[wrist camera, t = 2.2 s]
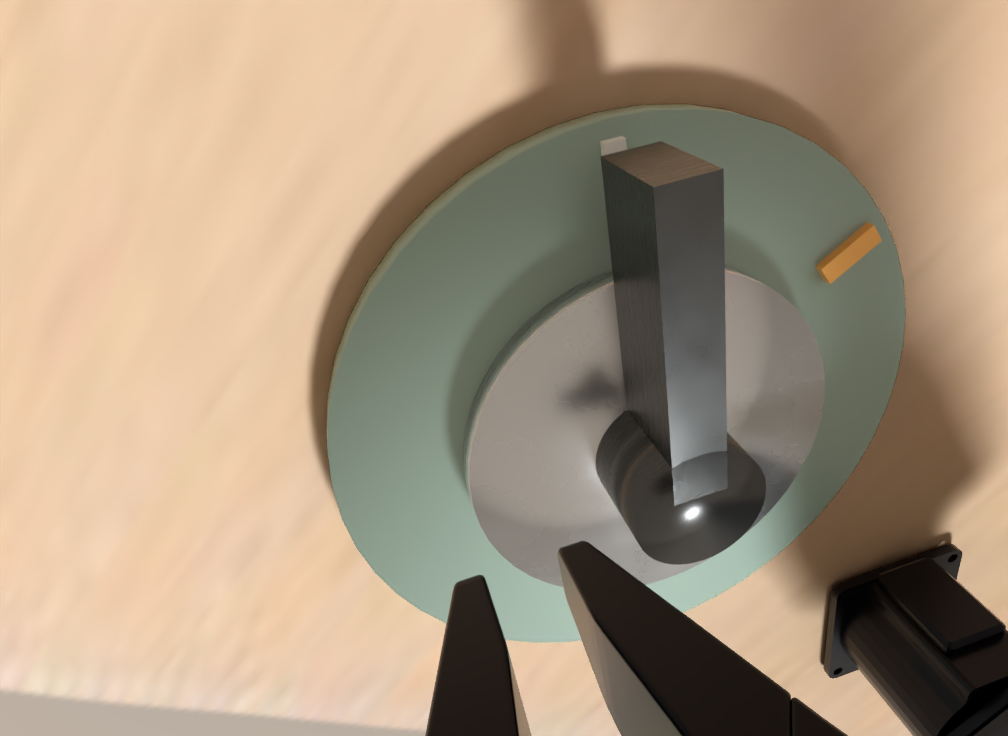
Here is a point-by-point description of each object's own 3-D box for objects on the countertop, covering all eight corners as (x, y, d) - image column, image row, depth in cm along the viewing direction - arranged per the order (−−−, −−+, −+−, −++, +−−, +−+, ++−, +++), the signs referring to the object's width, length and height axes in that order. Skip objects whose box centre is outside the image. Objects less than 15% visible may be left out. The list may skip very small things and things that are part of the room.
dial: (798, 510, 27) (870, 587, 23) (499, 611, 25) (531, 709, 22) (823, 88, 19) (938, 111, 15) (388, 198, 17) (411, 251, 14)
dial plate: (858, 530, 31) (879, 551, 29) (414, 684, 28) (419, 713, 27) (919, 32, 20) (955, 35, 19) (222, 204, 18) (218, 219, 17)
